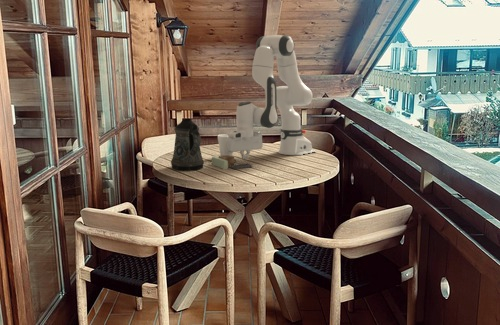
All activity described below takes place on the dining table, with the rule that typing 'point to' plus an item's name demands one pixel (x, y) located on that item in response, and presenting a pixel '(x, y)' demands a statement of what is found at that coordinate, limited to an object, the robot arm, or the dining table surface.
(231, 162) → the walnut block
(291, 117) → the robot arm
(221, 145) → the foam cup
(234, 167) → the trap pair
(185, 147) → the beer stein
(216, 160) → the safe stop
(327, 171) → the dining table surface
